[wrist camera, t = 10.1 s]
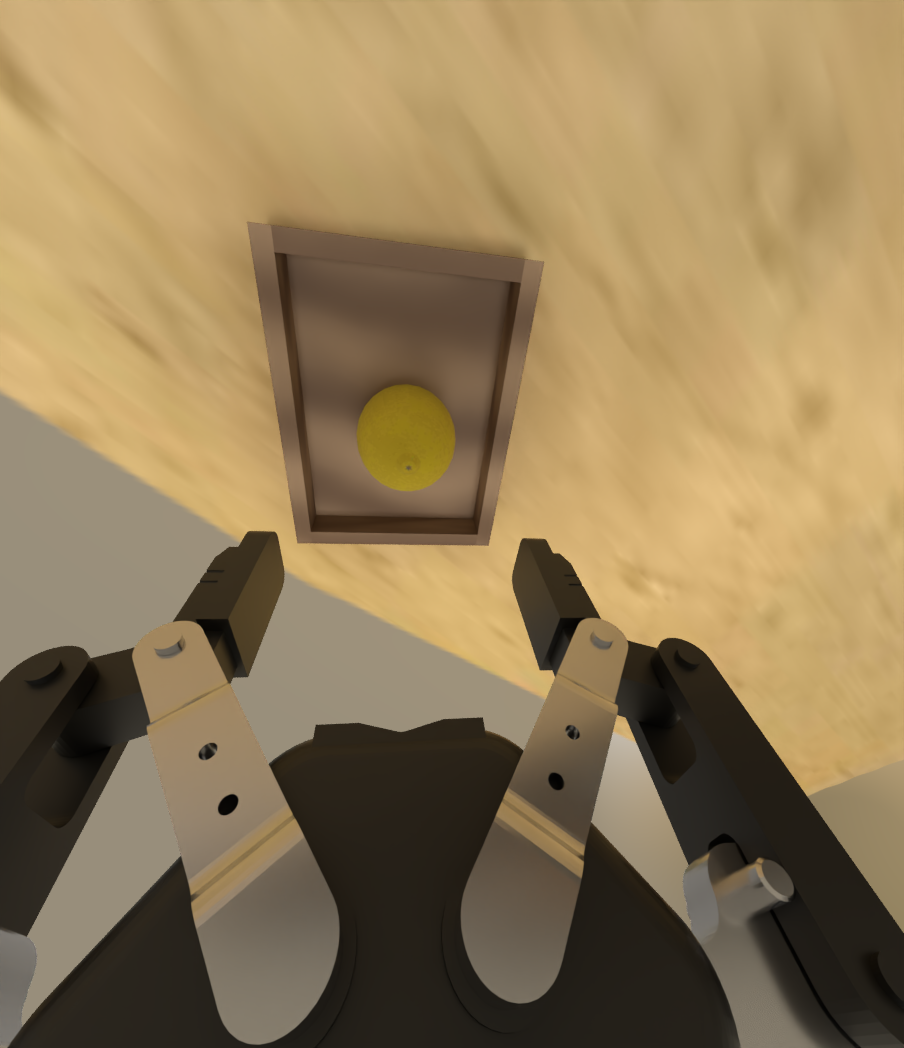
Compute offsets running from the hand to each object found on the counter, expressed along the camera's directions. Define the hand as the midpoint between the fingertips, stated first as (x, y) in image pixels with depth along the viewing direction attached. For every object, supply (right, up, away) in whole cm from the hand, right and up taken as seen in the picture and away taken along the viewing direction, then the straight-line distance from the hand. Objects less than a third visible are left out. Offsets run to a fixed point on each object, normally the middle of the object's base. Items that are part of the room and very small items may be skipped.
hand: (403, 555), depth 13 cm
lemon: (-1, +8, +12) cm, 15 cm away
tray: (-2, +9, +13) cm, 16 cm away
